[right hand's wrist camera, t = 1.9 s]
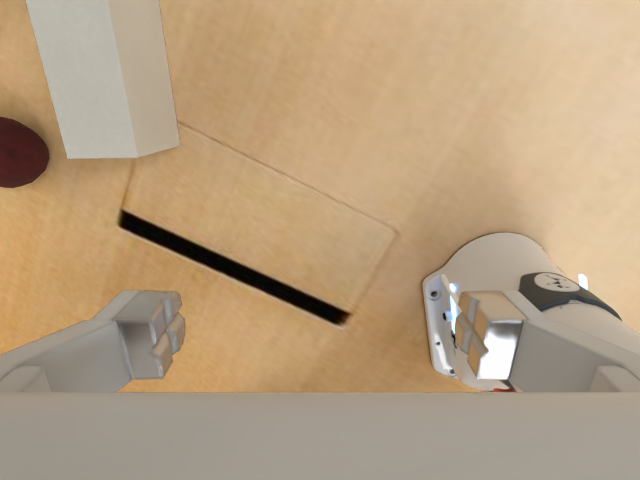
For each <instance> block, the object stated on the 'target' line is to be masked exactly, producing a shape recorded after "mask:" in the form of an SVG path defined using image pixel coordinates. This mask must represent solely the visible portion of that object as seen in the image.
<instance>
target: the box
mask: <svg viewBox="0 0 640 480" xmlns="http://www.w3.org/2000/svg"><path fill="white" fill-rule="evenodd" d="M25 1H26V5H27V8H28V12H29V16H30V20H31V23H32V27H33V31H34V35H35V39H36V42H37V46H38V50H39V54H40V57H41V61H42V65H43V69H44V72H45V76H46V80H47V84H48V87H49V91H50V95H51V99H52V102H53V106H54V110H55V114H56V118H57V121H58V125H59V129H60V133H61V136H62V140H63V144H64V148H65V151H66V155H67V159H91V158H139V157H143V156H146V155H149V154H153V153H156V152H160V151H163V150H166V149H170V148H173V147H177V146H180V139H179V132H178V126H177V119H176V113H175V106H174V99H173V93H172V86H171V80H170V73H169V66H168V60H167V53H166V46H165V40H164V33H163V27H162V20H161V13H160V7H159V0H25Z"/></svg>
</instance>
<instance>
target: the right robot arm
mask: <svg viewBox="0 0 640 480" xmlns="http://www.w3.org/2000/svg"><path fill="white" fill-rule="evenodd" d="M422 288H423V296H424V304H425V313H426V321H427V329H428V337H429V346H430V354H431V362H432V366H433V367H434V369H435V370H436V371H437V372H439V373H441V374H443V375H446V376H449V377H453V378H458V379H459V380H460V381H461V382H462V383H464V384H465V385H467V386H469V387H472V388H475V389H479V390H485V391H490V392H117V391H118V390H120V389H121V388H122V387H124V386H125V385H126V384H128V383H129V382H130V381H131V380H135V379H163V378H164V376H165V375H166V373H167V371H168V369H169V368H170V366H171V364H172V362H173V358H172V355H173V354H175V353H176V352H178V351H179V350H180V348H181V346H182V344H183V341H184V337H185V320H184V317H183V316H182V315H181V314H180V313H179V312H178V310H179V309H180V307H181V306H182V302H181V297H180V294H179V293H178V292H177V291H148V290H143V291H142V290H126V291H121V292H120V293H119V294H118V295H117V296H116V297H115V298H114V299H113V300H112V301H111V302H109V303H108V304H107V305H106V306H105V307H104V308H103V309H102V310H101V311H100V312H99V313H98V314H97V315H95V316H94V317H93V318H92V319H91V320H88V321H82V322H79V323H77V324H75V325H72V326H70V327H67V328H65V329H62V330H60V331H57V332H55V333H53V334H50V335H48V336H45V337H43V338H40V339H38V340H35V341H33V342H31V343H28V344H26V345H23V346H21V347H18V348H16V349H14V350H11V351H9V352H6V353H4V354H1V355H0V480H640V333H638V332H637V331H635V330H634V329H632V328H631V327H629V326H628V325H627V324H625V323H624V322H622V320H621V318H620V316H619V315H618V314H617V313H616V312H615V311H614V310H613V309H612V308H611V307H609V306H608V305H607V304H606V303H604V302H603V301H602V300H600V299H599V298H598V297H596V296H595V295H593V294H592V293H591V292H589V291H588V290H587V277H586V276H584V275H582V274H580V275H579V284H577V283H575V282H573V281H572V280H570V279H568V278H567V277H566V276H565V275H564V274H563V273H562V272H561V271H560V270H559V269H558V268H557V267H556V266H555V265H554V263H553V262H552V261H551V260H550V258H549V257H548V256H547V254H546V253H545V251H544V250H543V248H542V247H541V246H540V245H539V244H538V243H536V242H535V241H534V240H532V239H530V238H528V237H526V236H523V235H520V234H516V233H506V232H503V233H494V234H489V235H485V236H482V237H480V238H477V239H475V240H473V241H471V242H469V243H468V244H466V245H465V246H463V247H462V248H461V249H460V250H458V251H457V252H456V253H455V254H454V255H453V257H452V258H451V259H450V260H449V261H448V262H447V264H446V265H445V266H443V267H442V268H441V269H439V270H437V271H435V272H434V273H432V274H430V275H429V276H427V277H426V278H425V279H424V281H423V283H422ZM433 291H436V293H435V294H431V293H432V292H433ZM452 369H453V370H452Z"/></svg>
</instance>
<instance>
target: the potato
mask: <svg viewBox="0 0 640 480" xmlns="http://www.w3.org/2000/svg"><path fill="white" fill-rule="evenodd" d="M48 161H49V152H48V148H47V146H46V144H45V143H44V141H43V140H42V139H41V138H40V137H39V136H38V135H37V133H35V132H34V131H33V130H31V129H30V128H28V127H26V126H24V125H23V124H21V123H19V122H17V121H15V120H13V119H8V118H4V117H0V187H5V188H15V187H19V186H23V185H26V184H28V183H31V182H33V181H34V180H35V179H37V178H38V177H39V176H40V175H41V174H42V173H43V172H44V171H45V169H46V167H47V164H48Z"/></svg>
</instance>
